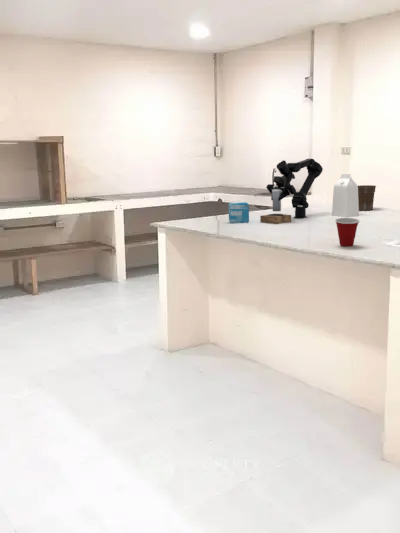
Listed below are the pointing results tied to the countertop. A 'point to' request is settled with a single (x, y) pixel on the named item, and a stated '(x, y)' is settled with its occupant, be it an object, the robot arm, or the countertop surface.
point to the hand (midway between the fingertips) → (275, 200)
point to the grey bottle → (276, 199)
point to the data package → (239, 212)
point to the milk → (345, 197)
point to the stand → (275, 218)
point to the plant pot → (366, 197)
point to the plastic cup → (346, 230)
